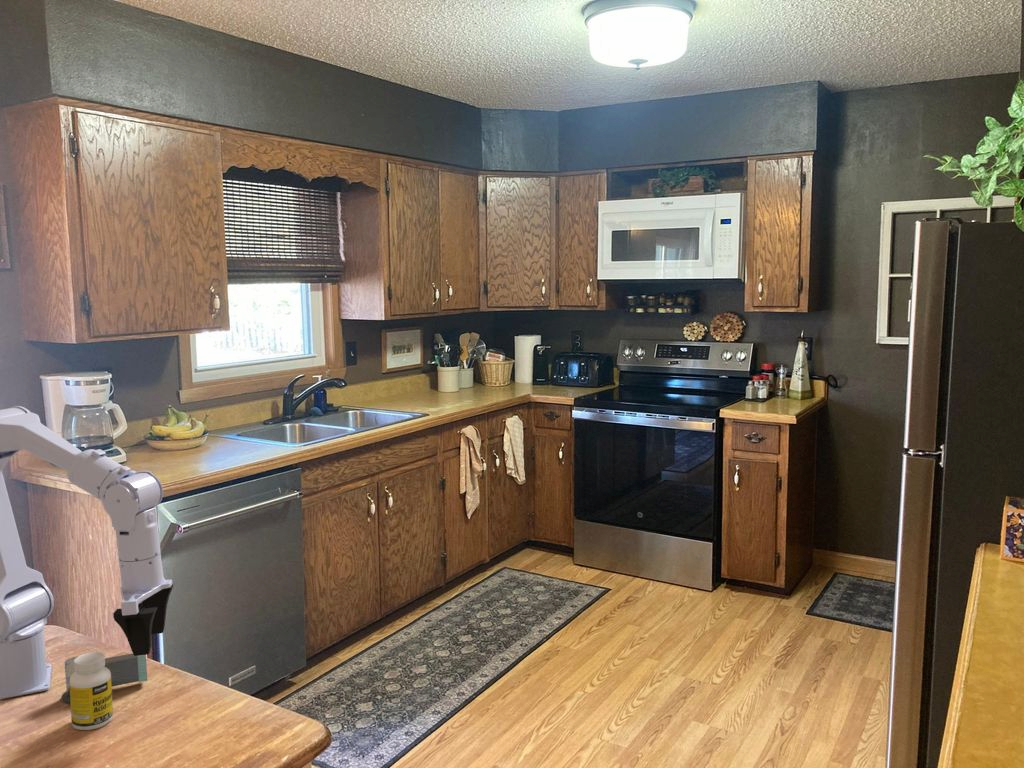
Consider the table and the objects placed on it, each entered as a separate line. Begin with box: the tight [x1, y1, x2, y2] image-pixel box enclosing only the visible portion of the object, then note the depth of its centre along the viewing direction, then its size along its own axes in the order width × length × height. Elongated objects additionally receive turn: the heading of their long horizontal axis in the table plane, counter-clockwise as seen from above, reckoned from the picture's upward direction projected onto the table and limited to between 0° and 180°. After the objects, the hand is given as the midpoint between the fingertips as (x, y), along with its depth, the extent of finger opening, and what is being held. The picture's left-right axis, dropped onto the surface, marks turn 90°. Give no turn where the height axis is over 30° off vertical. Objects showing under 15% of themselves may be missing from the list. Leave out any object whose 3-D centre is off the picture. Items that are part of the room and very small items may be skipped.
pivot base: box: [61, 690, 71, 705], centre depth 130 cm, size 4×4×1 cm
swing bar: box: [64, 652, 148, 696], centre depth 131 cm, size 11×3×5 cm, turn 117°
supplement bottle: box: [70, 651, 114, 731], centre depth 122 cm, size 5×5×10 cm
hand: (149, 643), depth 126 cm, fingers open, 7 cm apart
